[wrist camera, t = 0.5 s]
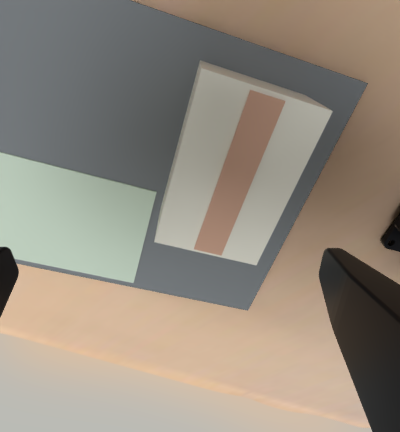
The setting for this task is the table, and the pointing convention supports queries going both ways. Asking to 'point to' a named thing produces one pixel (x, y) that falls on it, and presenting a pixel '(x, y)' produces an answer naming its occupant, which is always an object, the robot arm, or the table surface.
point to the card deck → (236, 163)
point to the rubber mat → (126, 140)
